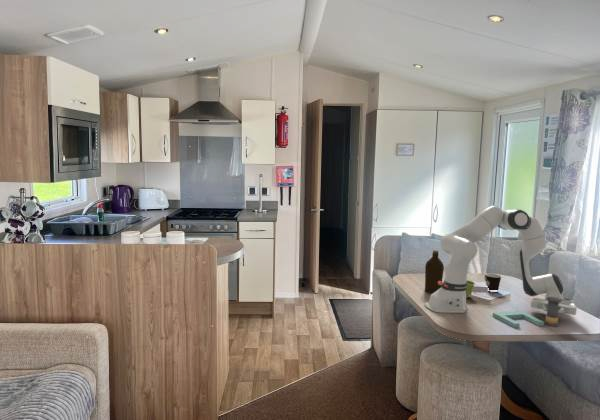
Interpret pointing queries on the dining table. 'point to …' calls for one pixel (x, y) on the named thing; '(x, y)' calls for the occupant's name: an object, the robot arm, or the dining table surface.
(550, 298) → the door knob
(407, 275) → the dining table surface
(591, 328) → the dining table surface
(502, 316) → the notched board
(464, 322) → the dining table surface
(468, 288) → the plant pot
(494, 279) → the coffee mug
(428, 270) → the olive oil
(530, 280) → the robot arm
